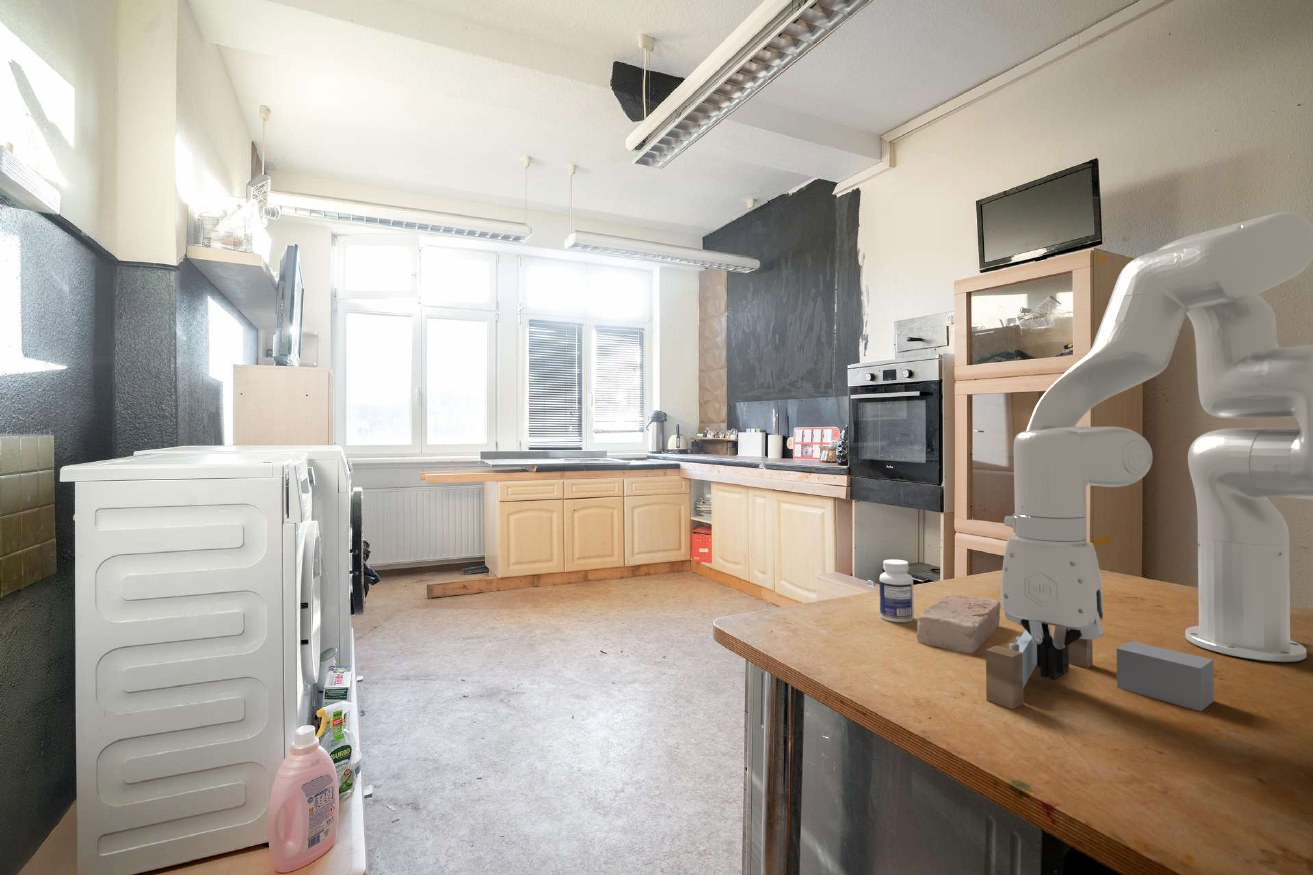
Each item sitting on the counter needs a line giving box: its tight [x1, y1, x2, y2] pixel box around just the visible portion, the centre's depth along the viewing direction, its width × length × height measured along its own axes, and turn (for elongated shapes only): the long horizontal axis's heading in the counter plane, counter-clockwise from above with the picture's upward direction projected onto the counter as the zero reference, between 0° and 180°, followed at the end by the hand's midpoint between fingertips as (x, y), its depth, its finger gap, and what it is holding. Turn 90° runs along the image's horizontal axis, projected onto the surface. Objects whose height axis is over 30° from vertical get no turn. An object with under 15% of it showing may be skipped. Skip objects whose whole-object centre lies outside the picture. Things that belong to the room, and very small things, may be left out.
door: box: [1008, 629, 1037, 689], centre depth 80 cm, size 17×2×6 cm, turn 140°
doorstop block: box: [1116, 640, 1215, 712], centre depth 73 cm, size 4×8×5 cm, turn 34°
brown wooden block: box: [985, 645, 1024, 710], centre depth 72 cm, size 2×3×6 cm
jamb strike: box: [1068, 639, 1094, 668], centre depth 83 cm, size 2×2×6 cm
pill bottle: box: [879, 559, 915, 623], centre depth 105 cm, size 5×5×10 cm
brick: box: [916, 593, 1002, 654], centre depth 96 cm, size 17×8×5 cm, turn 139°
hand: (1052, 675), depth 76 cm, fingers closed
